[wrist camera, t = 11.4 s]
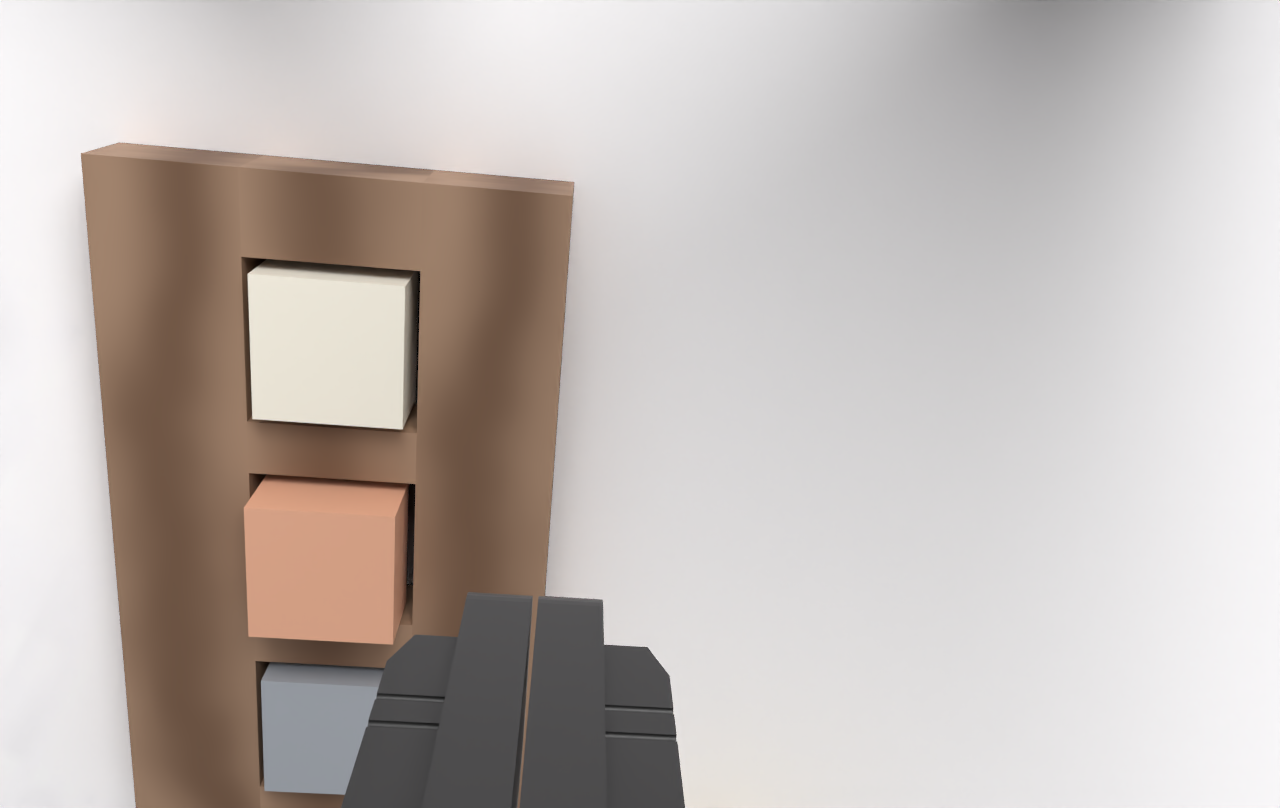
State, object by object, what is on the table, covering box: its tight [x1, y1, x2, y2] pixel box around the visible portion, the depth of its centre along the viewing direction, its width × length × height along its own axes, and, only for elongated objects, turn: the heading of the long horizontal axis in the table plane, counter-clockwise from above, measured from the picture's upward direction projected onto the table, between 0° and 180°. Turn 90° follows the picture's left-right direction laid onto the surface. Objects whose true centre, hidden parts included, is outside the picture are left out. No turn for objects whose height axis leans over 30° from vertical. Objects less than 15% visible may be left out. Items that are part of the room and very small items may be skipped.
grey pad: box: [261, 662, 384, 795], centre depth 44 cm, size 5×5×3 cm
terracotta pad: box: [244, 474, 409, 645], centre depth 40 cm, size 5×5×3 cm
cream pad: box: [248, 259, 418, 430], centre depth 38 cm, size 5×5×3 cm
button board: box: [81, 143, 574, 808], centre depth 42 cm, size 16×28×3 cm, turn 175°
